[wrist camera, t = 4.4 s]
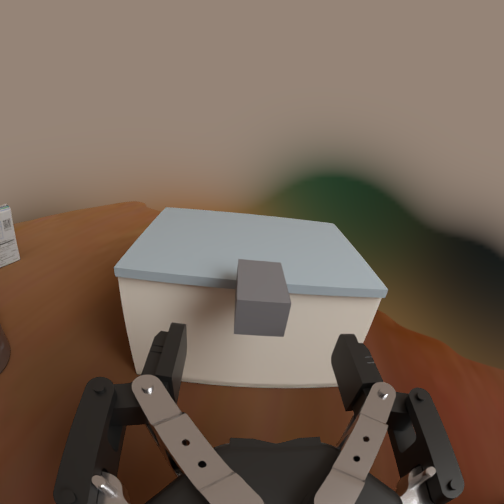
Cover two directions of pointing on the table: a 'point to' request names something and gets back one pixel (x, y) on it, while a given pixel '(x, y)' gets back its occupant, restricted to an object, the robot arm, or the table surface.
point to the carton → (243, 346)
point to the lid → (250, 262)
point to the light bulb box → (7, 238)
